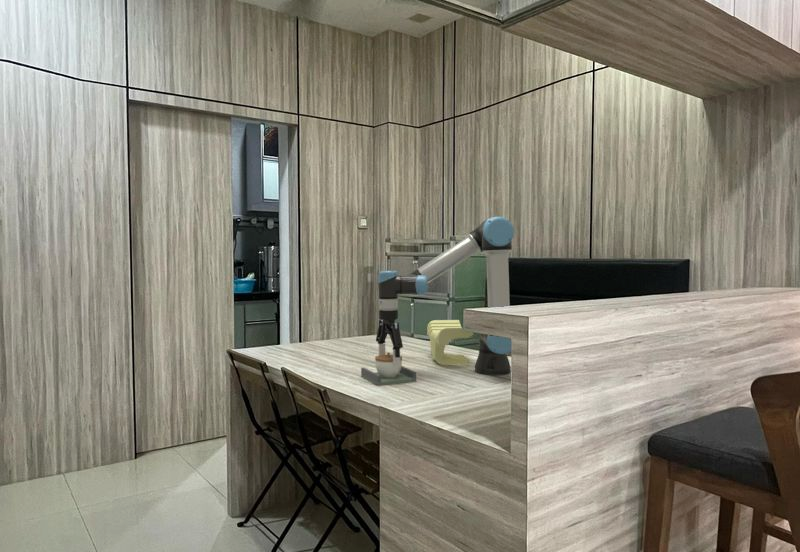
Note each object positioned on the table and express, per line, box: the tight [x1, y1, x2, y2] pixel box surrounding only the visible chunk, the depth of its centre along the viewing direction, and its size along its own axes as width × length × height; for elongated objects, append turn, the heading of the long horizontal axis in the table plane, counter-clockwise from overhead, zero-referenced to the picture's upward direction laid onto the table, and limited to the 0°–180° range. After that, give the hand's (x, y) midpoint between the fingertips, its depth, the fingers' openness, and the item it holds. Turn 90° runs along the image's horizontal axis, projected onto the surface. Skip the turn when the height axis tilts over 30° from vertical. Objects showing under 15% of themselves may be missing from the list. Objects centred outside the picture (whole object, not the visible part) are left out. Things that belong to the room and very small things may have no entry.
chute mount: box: [360, 365, 417, 387], centre depth 213 cm, size 16×17×4 cm
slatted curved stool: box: [426, 319, 475, 366], centre depth 249 cm, size 30×16×18 cm, turn 7°
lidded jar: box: [374, 352, 403, 378], centre depth 213 cm, size 11×11×9 cm
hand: (389, 362), depth 212 cm, fingers open, 13 cm apart
